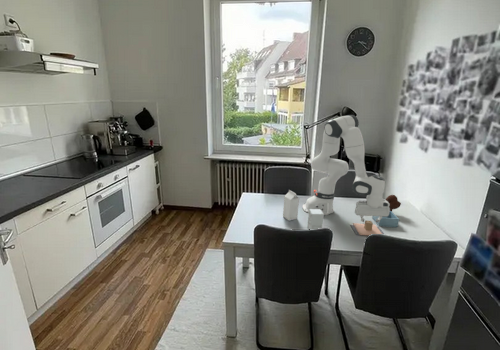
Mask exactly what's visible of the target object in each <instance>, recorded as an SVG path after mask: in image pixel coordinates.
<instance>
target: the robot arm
mask: <svg viewBox="0 0 500 350" xmlns="http://www.w3.org/2000/svg"><path fill="white" fill-rule="evenodd" d="M323 129H324V130H323V134H322V144H321V150H320V153H319V154H318V155H316V156H314V157H313V158H312V160H311V162H310V166H311V167H310V168H311V169H312V170H313V171H316V172H318V173H324V174H328V176H325V177H322V178H321V179H319V180H318V181H319V182H318V188H317V189H314V190H313V193H314V195H313V196H310V197H308V198H307V200H306V201H305V202H306V203H303V204H302V210H303V211H304V212H305V213H308V214H309V209H320V210H321V211H322V213H323V214H324V216H329V214H333V213H334V211H335V210H334V199H335V188H336V184H337V181H338V180H339V179H341V177H343V176H345V175H347V173H348V172H349V170H350V169H349V164H348V162H347V161H345V160H342V159H338V158H332V157H331V156H335V155H337V154H338V152H339V151H340V143H341V139H343V144H344V150H345V154H346V156H347V158H348V159H349V160H351V161H352V163H353V166H354V172H355V178H354V181H353V183H352V184H351V185H352V186H351V189H352V192H353V193H354V194H355V195H357V196H366V198H365V200H359V201H357V202H356V203H355V208H354V213H355V215H356V216H359V217H360V222H361V223H362V222H363V223H365V220H366V219H365V218H364V216H365V217H372V216H379V218H378V219H376V222H380V220H381V219H382V216H383V217H387V216H389V212H390V208H389V206H390V204H389V202H388V201H386V200H385V199H386V198H385V199H384V198H383V195H384V193H385V188H386V182H385V179H384V178H383V177H382V176H381V175H378V174H377V175H375V174H373V175H370V176H369V175H368V173H367V169H366V164H365V163H366V162H365V153H366V152H365V142H364V138H363V137H364V136H363V134H362V131H361V129H360V127H359V120H358V117H357V116H355V115H354V114H347V115H342V116H339V117H336V118H334V119H330V120H327V121H326V122H325V124H324V128H323ZM376 222H375V223H376Z"/></svg>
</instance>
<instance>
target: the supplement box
mask: <svg viewBox="0 0 500 350" xmlns="http://www.w3.org/2000/svg"><path fill="white" fill-rule="evenodd" d="M324 216H325V215H324V214H323V213H322V211H321V210H320V209H309V213H308V217H307V219H308V220H307V229H308V230H309V229H318V228H322V229H323V222H324Z"/></svg>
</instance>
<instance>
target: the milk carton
mask: <svg viewBox="0 0 500 350" xmlns="http://www.w3.org/2000/svg"><path fill="white" fill-rule="evenodd" d="M299 204H300V198H299V197H298V196H297V193H296V192H294V191H292V190H290V189H288V192H287V193H286V194H285V195H284V199H283V211H282V217H283V218H284V219H286V220H287V221H293V220H297V219H298V214H299V206H300V205H299Z"/></svg>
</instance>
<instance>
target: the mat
mask: <svg viewBox="0 0 500 350" xmlns="http://www.w3.org/2000/svg"><path fill="white" fill-rule="evenodd" d="M350 227H351V229H352V232H354V234H355V235H356V236H361V235H360V234H359V233H358V231H357V230H356V228H355V227H354V225H353V224H350ZM376 227H377V228H378V229H379V230H380V232H381V233H382V234H385V233H384V231H382V229H381V228H380V226H378V225H376ZM365 236H366V237H368V236H369V235H365Z"/></svg>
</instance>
